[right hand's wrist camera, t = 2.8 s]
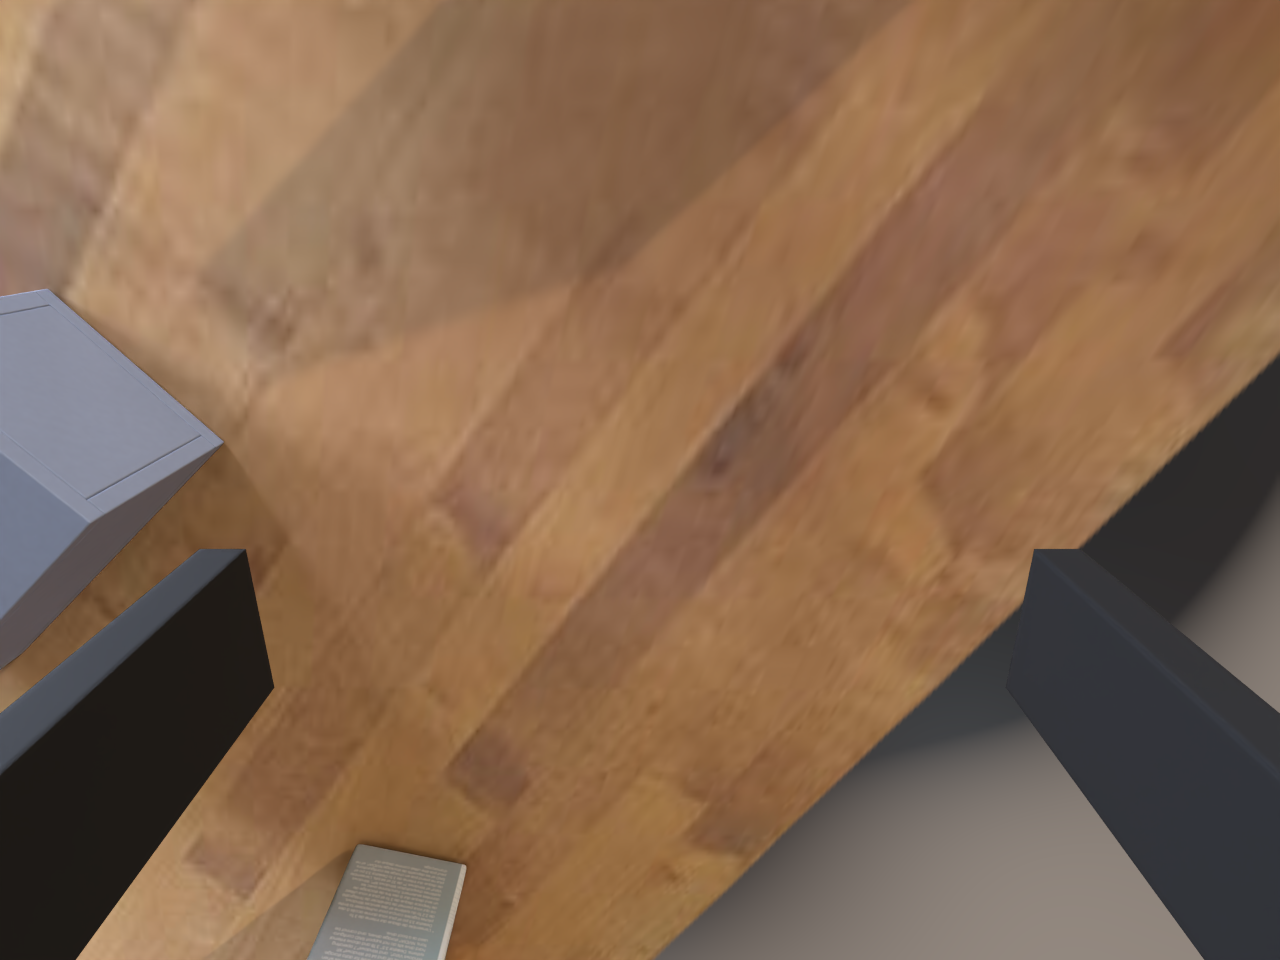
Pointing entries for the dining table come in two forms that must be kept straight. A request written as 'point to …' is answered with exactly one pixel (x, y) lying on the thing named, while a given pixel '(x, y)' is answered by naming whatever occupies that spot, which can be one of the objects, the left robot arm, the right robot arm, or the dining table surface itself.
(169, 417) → the cabinet
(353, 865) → the hard drive box
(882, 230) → the dining table surface
